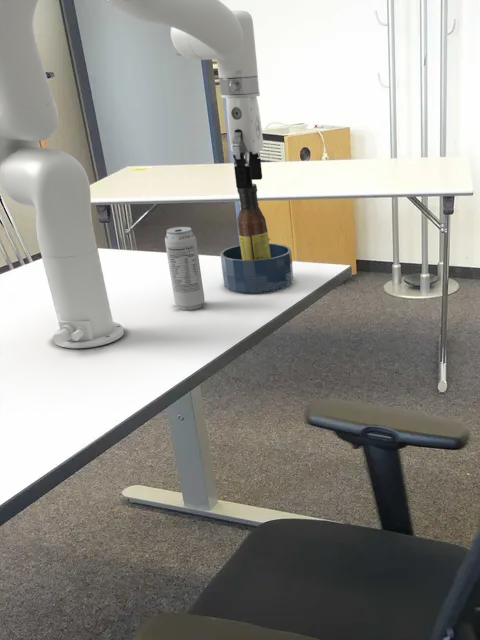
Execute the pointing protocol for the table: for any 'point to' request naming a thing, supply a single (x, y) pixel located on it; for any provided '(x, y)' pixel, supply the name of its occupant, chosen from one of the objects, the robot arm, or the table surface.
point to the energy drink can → (184, 268)
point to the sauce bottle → (252, 226)
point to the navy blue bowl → (257, 270)
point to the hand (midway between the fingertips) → (249, 183)
